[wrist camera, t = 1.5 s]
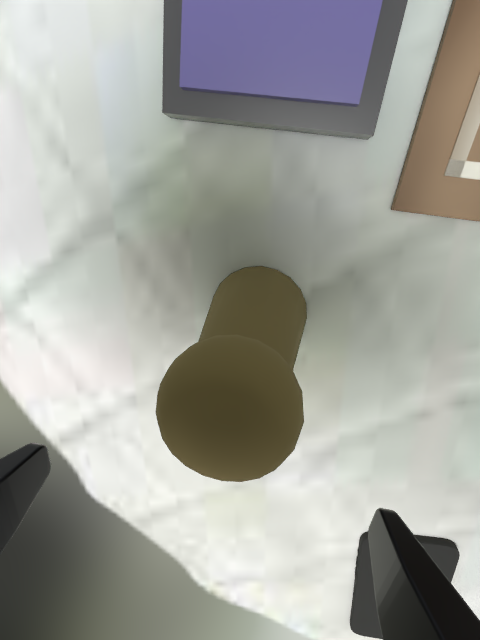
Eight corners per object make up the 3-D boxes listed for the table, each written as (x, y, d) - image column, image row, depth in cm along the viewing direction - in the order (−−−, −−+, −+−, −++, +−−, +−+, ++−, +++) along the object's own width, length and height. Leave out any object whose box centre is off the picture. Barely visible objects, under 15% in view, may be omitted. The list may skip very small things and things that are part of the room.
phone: (348, 633, 31) (361, 535, 25) (347, 623, 31) (359, 525, 26) (430, 647, 29) (463, 547, 24) (427, 636, 30) (458, 536, 24)
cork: (211, 350, 21) (136, 494, 11) (211, 262, 19) (115, 345, 9) (301, 360, 20) (307, 525, 10) (313, 269, 18) (335, 370, 8)
